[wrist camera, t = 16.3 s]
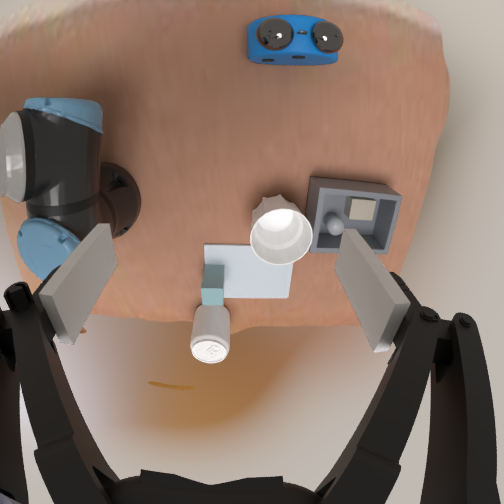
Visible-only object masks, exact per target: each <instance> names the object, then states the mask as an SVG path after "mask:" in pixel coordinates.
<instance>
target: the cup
mask: <svg viewBox="0 0 504 504" xmlns="http://www.w3.org/2000/svg"><path fill="white" fill-rule="evenodd" d="M312 238H313V233H312V228H311V225H310V223H309V221H308V220H307V219H306V218H305V216H304V215H303V214H302V213H301V212H300V210H299V209H298V208H297V206H296V205H295V204H294V203H291V202H288V201H287V200H285V199H284V198H283V197H282V196H281V194H279V195H277V196H275V197H269V198H266V197H263V198H262V202H261V203H260V204H259V206H258V207H257V208H256V209H254V210H253V211H252V225H251V235H250V242H251V247H252V249H253V251H254V253H255V254H256V255H257V256H258V257H259V258H260V259H261V260H263V261H264V262H266V263H269V264H273V265H286V264H290V263H293V262H295V261H297V260H298V259H300V258H301V257H303V256H304V255H305V253H306V252H307V251H308V249H309V247H310V245H311V243H312Z"/></svg>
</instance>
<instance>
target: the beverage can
mask: <svg viewBox="0 0 504 504" xmlns="http://www.w3.org/2000/svg"><path fill="white" fill-rule="evenodd" d="M229 339H230V313H229V311H228V310H227V309H226V308H225V307H224V306H222V305H200V306H199V307H198V308H197V309H196V312H195V317H194V324H193V330H192V337H191V343H190V347H191V350H192V353H193V355H194V357H195V358H196V359H198V360H200V361H202V362H205V363H217V362H220V361H222V360H223V359H225V357H226V355H227V353H228V352H229V343H230V340H229Z"/></svg>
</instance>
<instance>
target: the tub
mask: <svg viewBox="0 0 504 504" xmlns="http://www.w3.org/2000/svg"><path fill="white" fill-rule="evenodd" d="M401 200H402V196H401V195H400V194H399V193H397V192H396V191H394V190H393V189H391V188H390V187H389V186H387V185H386V184H378V183H371V182H362V181H353V180H344V179H334V178H323V177H311V176H310V181H309V189H308V197H307V205H306V212H305V218H306V219H307V220H308V221H309V223H310V225H311V228H312V233H313V238H312V243H311V245H310V247H309V251H310V253H338V252H339V248H340V243H341V238H342V233H343V229H356V230H357V231H358V233H359V234H360V235H361V236H362V238H363V239H364V240H365V241H366V243H367V244H368V245H369V247H370V248H371V249H372V250H373V252H374V253H375V254H388V250H389V247H390V243H391V240H392V236H393V232H394V229H395V225H396V221H397V217H398V213H399V209H400V204H401Z"/></svg>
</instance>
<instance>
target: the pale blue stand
mask: <svg viewBox="0 0 504 504" xmlns="http://www.w3.org/2000/svg"><path fill="white" fill-rule="evenodd" d="M204 253H205V267H204V273H203V279H202V285H201V295H202V305H222V306H223V303H224V298H288V295H289V288H290V281H291V275H292V268H293V263H290V264H286V265H273V264H269V263H266V262H264V261H263V260H261V259H260V258H259V257H258V256H257V255H256V254H255V253H254V251H253V249H252V247H251V244H204Z"/></svg>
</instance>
